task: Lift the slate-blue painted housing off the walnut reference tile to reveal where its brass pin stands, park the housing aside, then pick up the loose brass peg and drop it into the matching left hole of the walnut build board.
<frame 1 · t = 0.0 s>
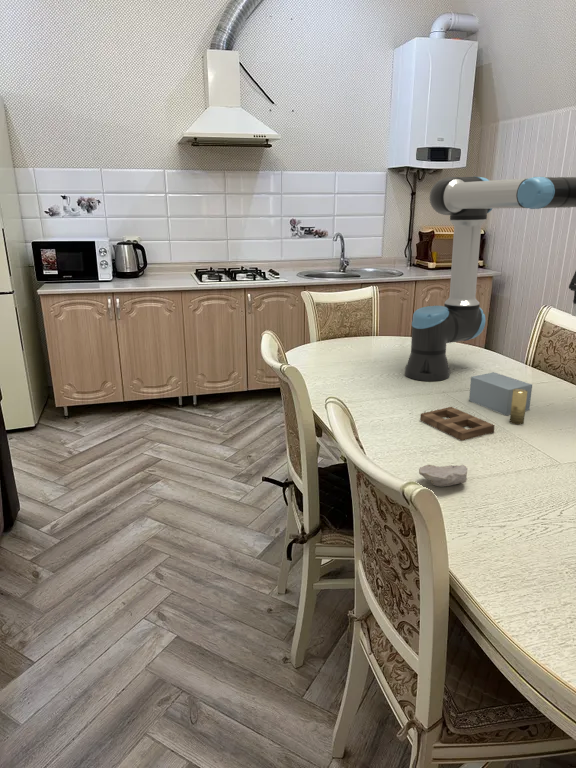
peg: (516, 422, 150), on the table
housing: (498, 405, 163), on the table
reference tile: (498, 405, 163), on the table
fossil: (443, 485, 118), on the table
build board: (455, 426, 148), on the table
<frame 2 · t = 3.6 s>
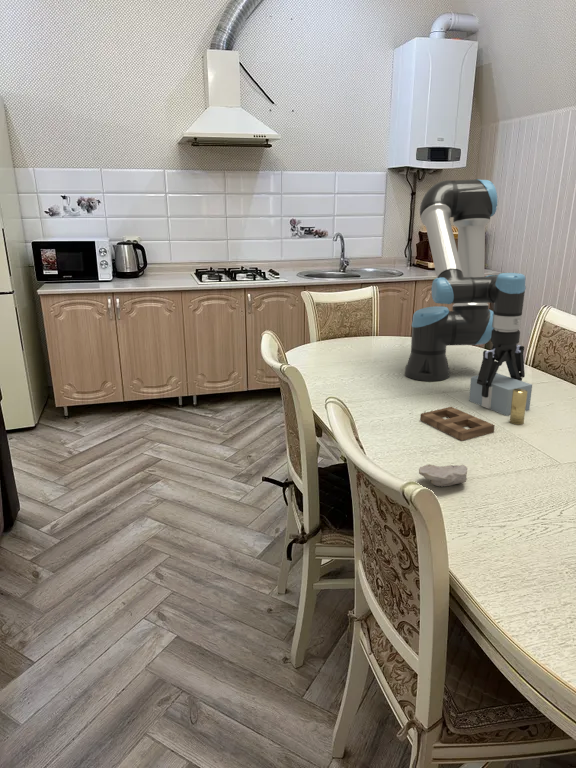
hand: (498, 404, 162), 0 cm above the table, fingers closed on housing, 9 cm apart
housing: (498, 405, 163), on the table, touching gripper
everything else where it was.
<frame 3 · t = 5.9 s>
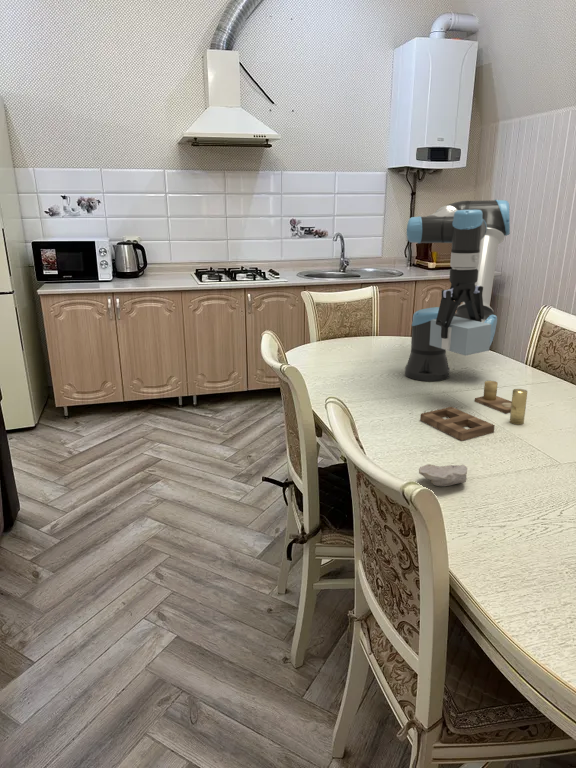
hand: (458, 346, 160), 17 cm above the table, fingers closed on housing, 9 cm apart
housing: (458, 347, 160), point 17 cm above the table, touching gripper
everything else where it was.
when the fingers open (2 cm above the table, at t = 8.4 s): housing drops 1 cm, on the table.
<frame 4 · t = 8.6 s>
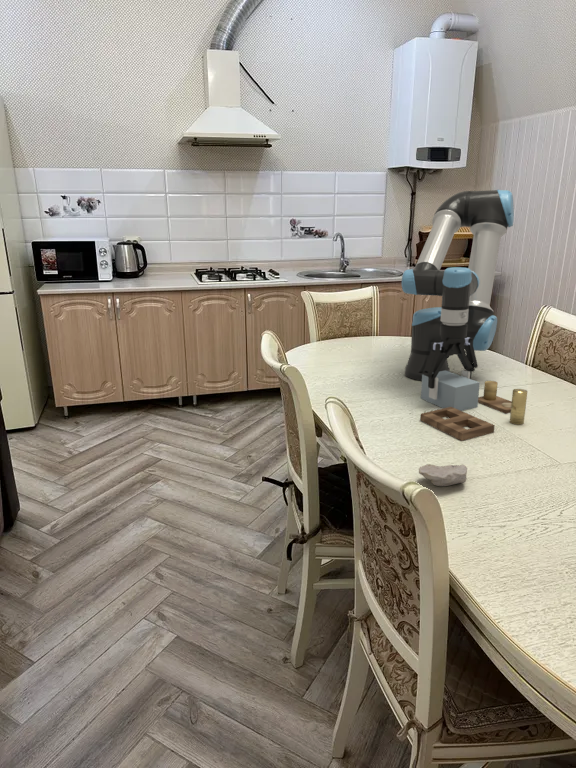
hand: (448, 394, 165), 2 cm above the table, fingers open, 11 cm apart
housing: (448, 402, 166), on the table
everything else where it was.
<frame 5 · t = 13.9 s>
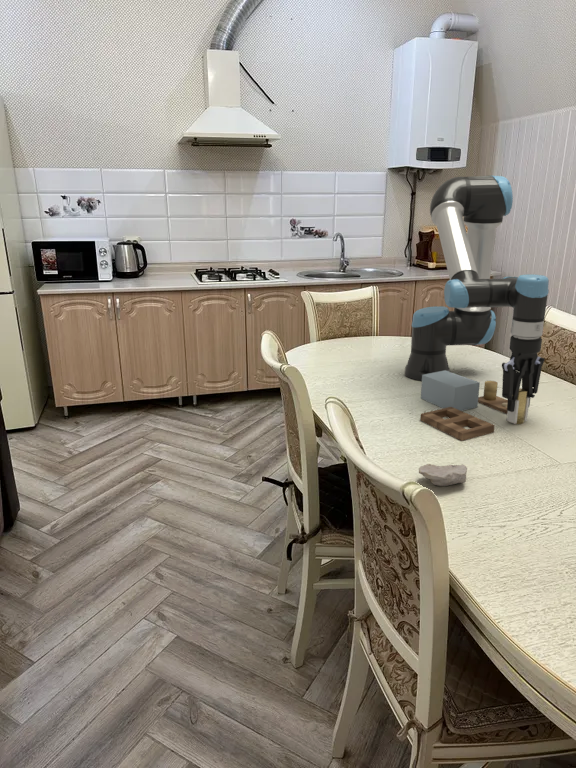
hand: (516, 420, 150), 0 cm above the table, fingers closed on peg, 3 cm apart
peg: (516, 421, 150), on the table, touching gripper
everything else where it was.
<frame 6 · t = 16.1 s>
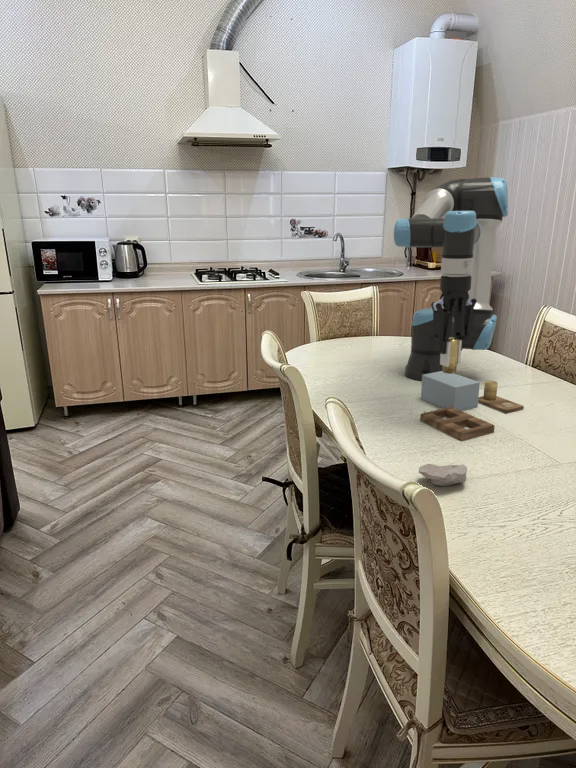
hand: (449, 364, 146), 16 cm above the table, fingers closed on peg, 3 cm apart
peg: (449, 371, 147), point 14 cm above the table, touching gripper
everything else where it was.
when the fingers open (3 cm above the table, at t = 18.8 s): peg stays where it is, resting in build board.
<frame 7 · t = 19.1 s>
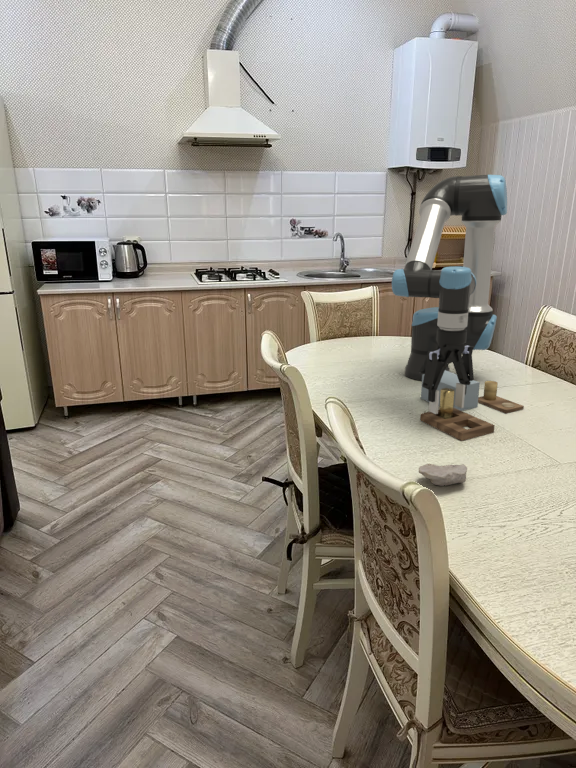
hand: (446, 409, 150), 4 cm above the table, fingers open, 8 cm apart
peg: (445, 421, 152), resting in build board
everything else where it was.
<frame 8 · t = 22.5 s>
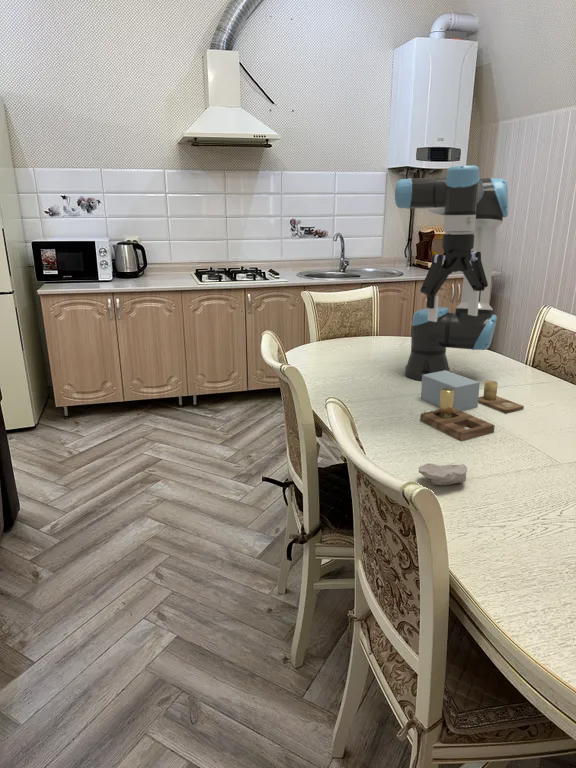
hand: (452, 318, 143), 29 cm above the table, fingers open, 13 cm apart
nothing on the table moved.
at the end: peg 0.1 cm from the target spot on the build board, point 0.0 cm above the build board's base; peg tilted 0°; housing moved 14.2 cm from its start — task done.
